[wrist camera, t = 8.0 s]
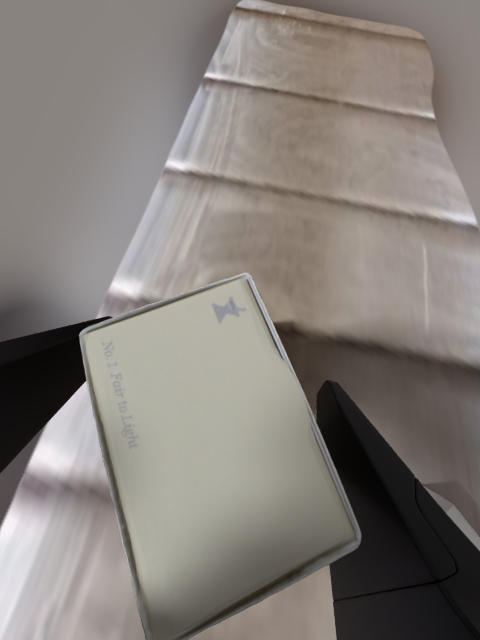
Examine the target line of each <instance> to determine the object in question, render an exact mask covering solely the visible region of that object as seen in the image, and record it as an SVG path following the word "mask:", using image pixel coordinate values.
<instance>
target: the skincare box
mask: <svg viewBox="0 0 480 640" xmlns="http://www.w3.org/2000/svg"><path fill="white" fill-rule="evenodd" d="M79 337H80V345H81V351H82V357H83V363H84V368H85V374H86V381H87V386H88V391H89V395H90V399H91V405H92V410H93V415H94V419H95V423H96V428H97V433H98V438H99V443H100V447H101V452H102V457H103V462H104V465H105V468H106V472H107V476H108V481H109V486H110V492H111V498H112V500H113V503H114V509H115V512H116V517H117V521H118V526H119V530H120V535H121V540H122V544H123V548H124V552H125V555H126V559H127V563H128V567H129V572H130V577H131V581H132V585H133V589H134V593H135V597H136V603H137V607H138V611H139V614H140V617H141V622H142V626H143V629H144V633H145V638H146V640H187V639H189V638H191V637H193V636H194V635H196V634H198V633H200V632H202V631H203V630H205V629H207V628H209V627H211V626H213V625H216V624H218V623H220V622H222V621H224V620H225V619H227V618H229V617H231V616H233V615H235V614H237V613H239V612H241V611H243V610H245V609H247V608H248V607H250V606H252V605H254V604H257V603H259V602H261V601H263V600H264V599H266V598H267V597H269V596H271V595H273V594H275V593H277V592H279V591H281V590H283V589H285V588H287V587H288V586H290V585H292V584H294V583H296V582H298V581H299V580H301V579H303V578H305V577H307V576H308V575H310V574H312V573H314V572H315V571H317V570H319V569H320V568H322V567H324V566H327V565H329V564H331V563H333V562H334V561H336V560H338V559H340V558H341V557H343V556H345V555H346V554H348V553H350V552H352V551H354V550H355V549H356V548H358V546H359V545H360V543H361V531H360V528H359V525H358V523H357V520H356V518H355V515H354V513H353V510H352V508H351V505H350V503H349V500H348V498H347V495H346V493H345V490H344V488H343V485H342V483H341V480H340V478H339V475H338V473H337V470H336V468H335V466H334V464H333V461H332V459H331V457H330V454H329V452H328V449H327V447H326V444H325V442H324V439H323V437H322V434H321V432H320V430H319V427H318V425H317V422H316V420H315V417H314V415H313V413H312V410H311V408H310V405H309V403H308V400H307V398H306V396H305V393H304V391H303V389H302V387H301V384H300V382H299V380H298V378H297V376H296V373H295V371H294V369H293V367H292V365H291V362H290V360H289V358H288V355H287V353H286V351H285V348H284V346H283V344H282V342H281V340H280V338H279V336H278V333H277V331H276V329H275V327H274V324H273V322H272V320H271V318H270V315H269V313H268V311H267V309H266V307H265V305H264V302H263V300H262V298H261V296H260V294H259V292H258V289H257V287H256V285H255V283H254V280H253V278H252V276H251V274H250V273H248V272H246V273H243V274H240V275H237V276H234V277H232V278H228V279H224V280H221V281H218V282H215V283H212V284H209V285H206V286H203V287H199V288H196V289H194V290H190V291H187V292H184V293H182V294H179V295H176V296H173V297H170V298H167V299H164V300H161V301H158V302H155V303H152V304H148V305H146V306H143V307H141V308H138V309H135V310H132V311H129V312H127V313H124V314H121V315H119V316H116V317H113V318H111V319H108V320H105V321H103V322H100V323H98V324H95V325H92V326H89V327H87V328H85V329H83V330H82V331H81V332H80V335H79Z"/></svg>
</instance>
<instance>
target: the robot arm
mask: <svg viewBox="0 0 480 640" xmlns="http://www.w3.org/2000/svg"><path fill="white" fill-rule="evenodd" d="M111 318H113V317H110V316H107V317H103V318H98V319H94V320H90V321H86V322H82V323H78V324H74V325H69V326H65V327H61V328H57V329H52V330H48V331H44V332H40V333H36V334H32V335H28V336H23V337H19V338H15V339H11V340H7V341H2V342H0V473H1V472H2V471H3V470H4V469H5V468H6V467H7V466H8V465H9V463H10V462H11V461H12V460H13V459H14V458H15V457H16V456H17V455H18V454H19V453H20V452H21V451H22V449H23V448H24V447H25V446H26V445H27V444H28V443H29V442H30V441H31V440H32V439H33V438H34V437H35V435H36V434H37V433H38V432H39V431H40V430H41V429H42V428H43V427H44V426H45V425H46V424H47V423H48V421H49V420H50V419H51V418H52V417H53V416H54V415H55V414H56V413H57V412H58V411H59V410H60V408H61V407H62V406H63V405H64V404H65V403H66V402H67V401H68V400H69V399H70V398H71V397H72V395H73V394H74V393H75V392H76V391H77V390H78V389H79V388H80V387H81V386H82V385H83V384H84V382H85V381H86V374H85V368H84V363H83V357H82V351H81V345H80V337H79V335H80V332H81V331H82V330H83V329H85V328H87V327H89V326H92V325H95V324H98V323H100V322H103V321H105V320H108V319H111ZM317 425H318V427H319V430H320V432H321V434H322V437H323V439H324V442H325V444H326V447H327V449H328V452H329V454H330V457H331V459H332V461H333V464H334V466H335V468H336V470H337V473H338V475H339V478H340V480H341V483H342V485H343V488H344V490H345V493H346V495H347V498H348V500H349V503H350V505H351V508H352V510H353V513H354V515H355V518H356V520H357V523H358V525H359V528H360V531H361V543H360V545H359V546H358V548H356V549H355V550H354V551H352V552H350V553H348V554H346V555H345V556H343V557H341V558H340V559H338V560H336V561H334V562H333V563H331V564H329V565H330V575H331V585H332V595H333V600H334V601H333V607H334V616H335V626H336V636H337V640H480V551H479V549H478V548H477V547H476V546H475V545H474V544H473V543H472V542H471V541H470V539H469V538H468V537H467V536H466V535H465V534H464V533H463V532H462V530H461V529H460V528H459V527H458V526H457V525H456V524H455V523H454V521H453V520H452V519H451V518H450V517H449V516H448V515H447V514H446V512H445V511H444V510H443V509H442V508H441V506H440V505H439V504H438V503H437V502H436V501H435V499H434V498H433V497H432V496H431V495H430V494H429V492H428V491H427V490H426V489H425V487H424V486H423V485H422V484H421V483H420V481H419V480H418V479H417V478H415V476H414V474H413V473H412V472H411V471H410V469H409V468H408V467H407V466H406V465H405V463H404V462H403V461H402V460H401V459H400V457H399V456H398V455H397V454H396V453H395V451H394V450H393V449H392V448H391V447H390V445H389V444H388V443H387V442H386V440H385V439H384V438H383V437H382V436H381V434H380V433H379V432H378V431H377V430H376V428H375V427H374V426H373V425H372V424H371V422H370V421H369V420H368V419H367V418H366V416H365V415H364V414H363V413H362V411H361V410H360V409H359V408H358V407H357V405H356V404H355V403H354V402H353V401H352V399H351V398H350V397H349V396H348V395H347V393H346V392H345V391H344V390H343V389H342V387H341V386H340V385H339V384H338V383H337V382H334V381H331V380H326V381H325V382H324V384H323V385H322V387H321V388H320V390H319V392H318V394H317Z"/></svg>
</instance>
